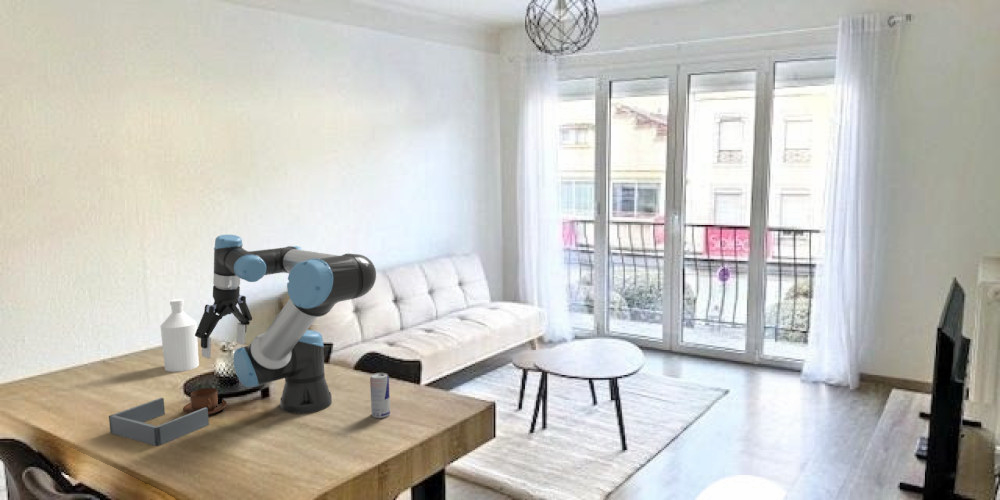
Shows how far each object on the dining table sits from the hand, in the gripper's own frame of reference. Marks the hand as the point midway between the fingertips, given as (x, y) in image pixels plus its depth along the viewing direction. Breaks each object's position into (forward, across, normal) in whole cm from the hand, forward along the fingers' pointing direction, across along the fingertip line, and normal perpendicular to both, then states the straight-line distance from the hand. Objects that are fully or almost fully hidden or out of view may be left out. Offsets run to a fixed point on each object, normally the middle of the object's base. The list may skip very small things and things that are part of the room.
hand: (223, 349), depth 207 cm
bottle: (+26, -19, -39) cm, 51 cm away
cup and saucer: (+16, +10, +4) cm, 19 cm away
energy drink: (+6, -7, +54) cm, 55 cm away
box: (+14, +25, +4) cm, 29 cm away
